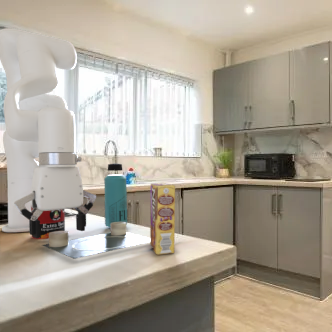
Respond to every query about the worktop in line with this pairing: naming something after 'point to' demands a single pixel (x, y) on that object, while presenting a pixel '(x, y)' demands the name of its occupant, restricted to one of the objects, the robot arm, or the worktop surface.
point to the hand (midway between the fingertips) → (59, 233)
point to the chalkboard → (98, 244)
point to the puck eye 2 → (118, 228)
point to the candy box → (162, 218)
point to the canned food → (51, 222)
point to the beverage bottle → (115, 197)
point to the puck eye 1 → (58, 239)
